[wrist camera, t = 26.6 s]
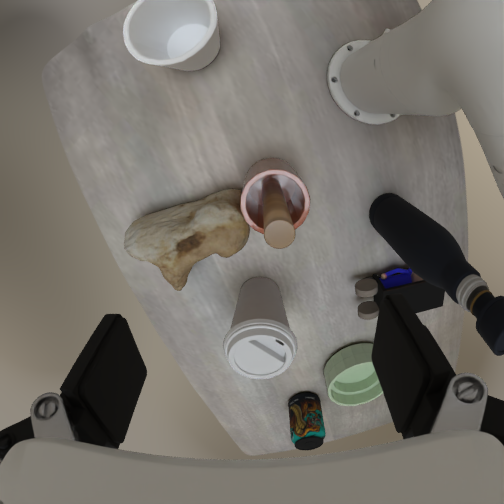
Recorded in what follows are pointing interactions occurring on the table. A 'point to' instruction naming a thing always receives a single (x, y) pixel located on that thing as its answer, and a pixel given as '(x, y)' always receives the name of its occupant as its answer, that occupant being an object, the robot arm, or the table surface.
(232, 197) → the stone
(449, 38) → the robot arm
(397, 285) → the figurine character
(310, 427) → the beverage can
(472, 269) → the black water bottle
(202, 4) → the cup
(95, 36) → the table surface
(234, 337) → the coffee cup
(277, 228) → the stirring stick
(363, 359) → the bowl
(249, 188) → the holder
